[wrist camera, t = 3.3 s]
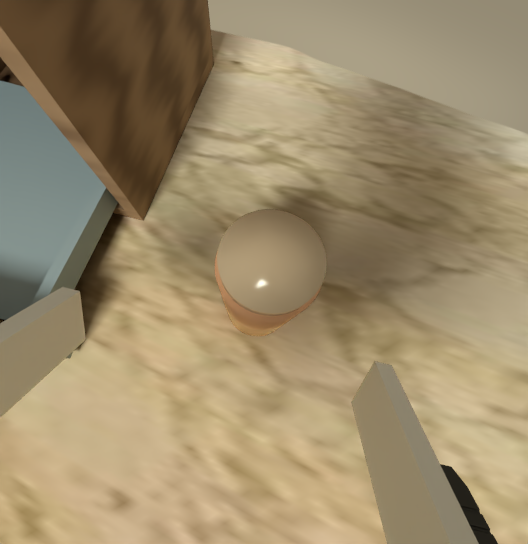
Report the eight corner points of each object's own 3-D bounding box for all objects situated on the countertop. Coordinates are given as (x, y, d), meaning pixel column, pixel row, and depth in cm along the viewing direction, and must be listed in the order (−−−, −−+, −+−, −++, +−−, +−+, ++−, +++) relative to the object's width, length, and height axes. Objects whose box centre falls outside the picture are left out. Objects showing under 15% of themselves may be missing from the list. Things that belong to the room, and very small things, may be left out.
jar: (300, 304, 22) (354, 257, 11) (258, 350, 20) (277, 345, 10) (256, 264, 22) (269, 186, 12) (213, 305, 21) (186, 257, 11)
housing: (143, 220, 23) (-60, -56, 7) (-72, 166, 23) (-731, -230, 7) (213, 64, 30) (184, -243, 15) (50, 22, 30) (-153, -332, 14)
